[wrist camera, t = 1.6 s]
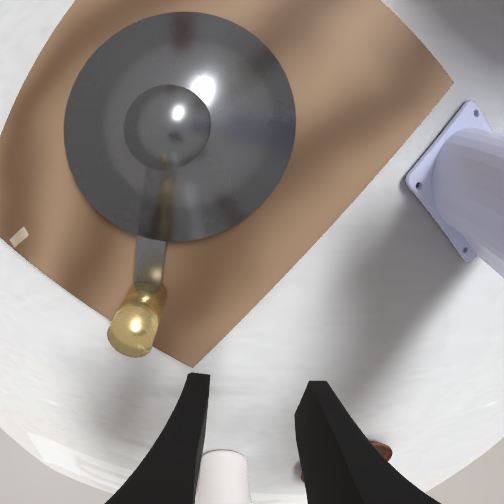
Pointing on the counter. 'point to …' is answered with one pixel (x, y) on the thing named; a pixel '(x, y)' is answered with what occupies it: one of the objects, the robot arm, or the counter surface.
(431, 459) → the counter surface
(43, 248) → the board
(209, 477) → the drinking glass
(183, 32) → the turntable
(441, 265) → the counter surface
